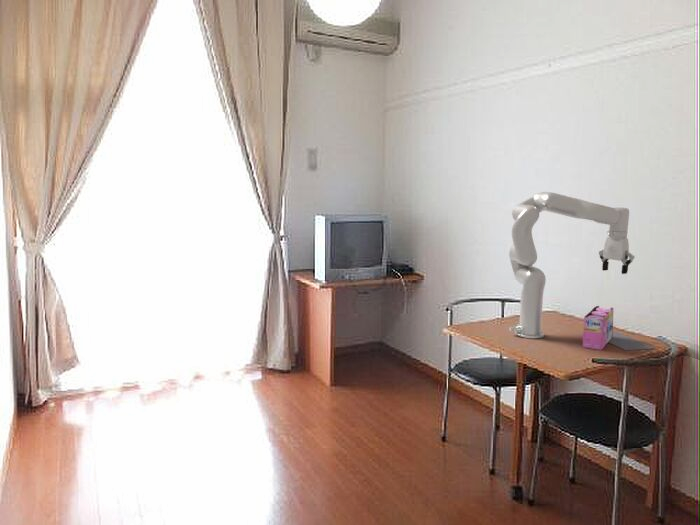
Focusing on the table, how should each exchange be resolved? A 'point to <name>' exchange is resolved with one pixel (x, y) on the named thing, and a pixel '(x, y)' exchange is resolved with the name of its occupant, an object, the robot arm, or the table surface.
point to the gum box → (598, 328)
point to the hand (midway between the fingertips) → (614, 271)
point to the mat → (627, 342)
